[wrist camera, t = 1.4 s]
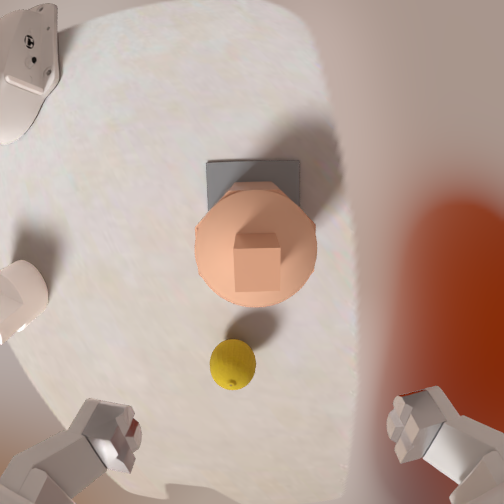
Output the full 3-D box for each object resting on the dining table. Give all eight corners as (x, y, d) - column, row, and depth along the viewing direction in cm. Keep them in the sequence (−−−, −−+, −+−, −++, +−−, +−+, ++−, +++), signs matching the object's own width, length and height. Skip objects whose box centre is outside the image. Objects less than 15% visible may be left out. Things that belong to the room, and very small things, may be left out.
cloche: (208, 182, 31) (178, 199, 18) (297, 180, 31) (332, 195, 18) (213, 267, 34) (192, 333, 21) (297, 264, 34) (324, 329, 21)
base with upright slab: (12, 303, 37) (-32, 337, 25) (8, 253, 34) (-44, 281, 23) (50, 321, 37) (7, 363, 26) (47, 269, 35) (-5, 305, 23)
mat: (206, 162, 31) (206, 163, 31) (298, 160, 31) (299, 160, 31) (213, 283, 35) (213, 284, 35) (297, 281, 35) (298, 282, 35)
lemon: (216, 324, 37) (209, 362, 29) (259, 331, 37) (261, 371, 30) (211, 357, 39) (203, 397, 31) (251, 364, 39) (251, 405, 31)
